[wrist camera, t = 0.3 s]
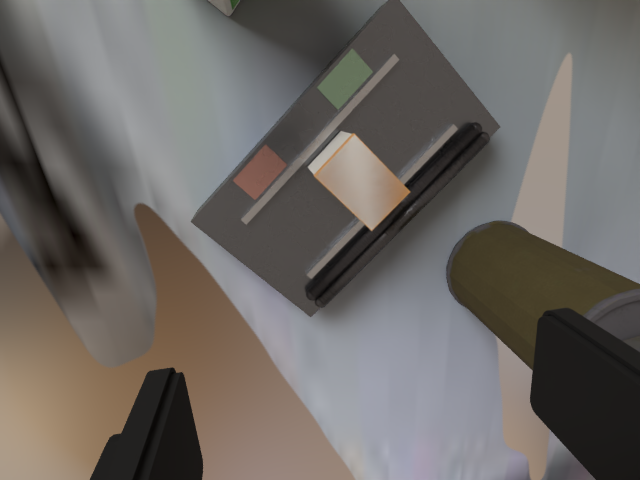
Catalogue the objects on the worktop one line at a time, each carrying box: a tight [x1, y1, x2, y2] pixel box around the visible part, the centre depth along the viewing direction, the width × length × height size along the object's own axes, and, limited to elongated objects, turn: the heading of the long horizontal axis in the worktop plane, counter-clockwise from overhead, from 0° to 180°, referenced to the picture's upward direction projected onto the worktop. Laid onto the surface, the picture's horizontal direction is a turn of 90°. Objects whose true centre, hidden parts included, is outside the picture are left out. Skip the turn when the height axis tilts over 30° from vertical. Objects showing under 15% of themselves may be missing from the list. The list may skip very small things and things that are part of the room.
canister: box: [447, 221, 640, 370], centre depth 35 cm, size 11×10×20 cm
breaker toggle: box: [308, 131, 410, 231], centre depth 32 cm, size 4×6×5 cm
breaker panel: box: [191, 0, 500, 317], centre depth 36 cm, size 24×14×5 cm, turn 136°
